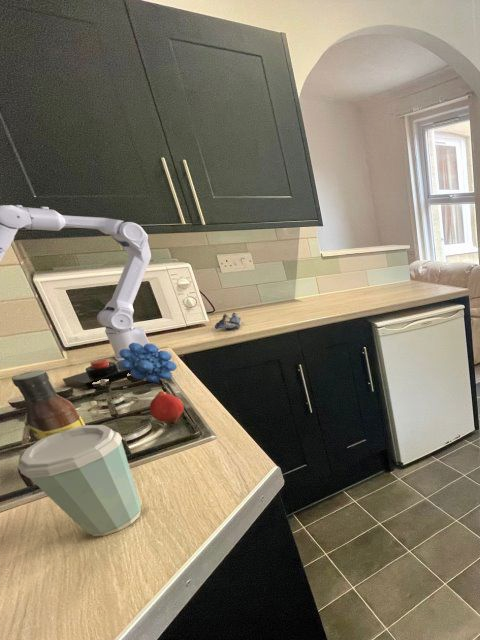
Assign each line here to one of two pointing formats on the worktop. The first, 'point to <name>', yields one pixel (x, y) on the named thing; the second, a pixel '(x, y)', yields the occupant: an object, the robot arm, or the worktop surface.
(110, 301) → the robot arm
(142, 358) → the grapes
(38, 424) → the sauce bottle
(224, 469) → the worktop surface
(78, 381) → the switch box
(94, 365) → the button
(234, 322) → the blue grey figurine
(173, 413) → the onion
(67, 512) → the disposable coffee cup
